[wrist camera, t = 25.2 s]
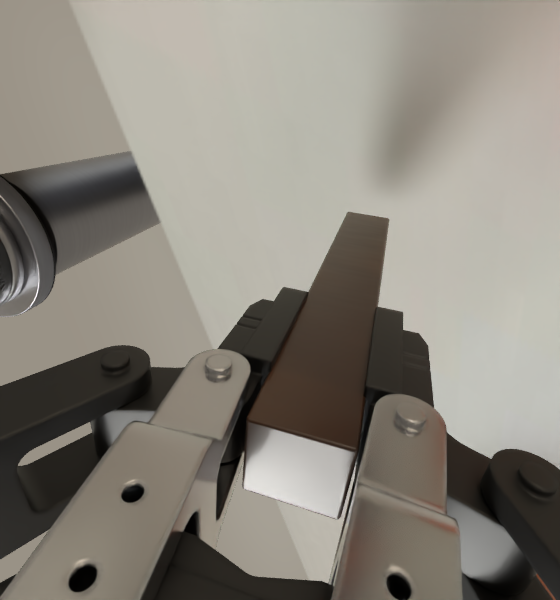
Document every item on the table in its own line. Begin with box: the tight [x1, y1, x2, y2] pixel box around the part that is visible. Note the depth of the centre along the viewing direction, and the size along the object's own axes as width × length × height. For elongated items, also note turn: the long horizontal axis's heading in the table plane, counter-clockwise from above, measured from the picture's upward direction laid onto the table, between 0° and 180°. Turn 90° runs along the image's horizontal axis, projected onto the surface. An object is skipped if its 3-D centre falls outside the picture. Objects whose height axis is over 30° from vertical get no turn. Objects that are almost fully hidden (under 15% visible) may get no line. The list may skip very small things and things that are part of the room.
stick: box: [242, 212, 389, 519], centre depth 13 cm, size 2×2×14 cm
